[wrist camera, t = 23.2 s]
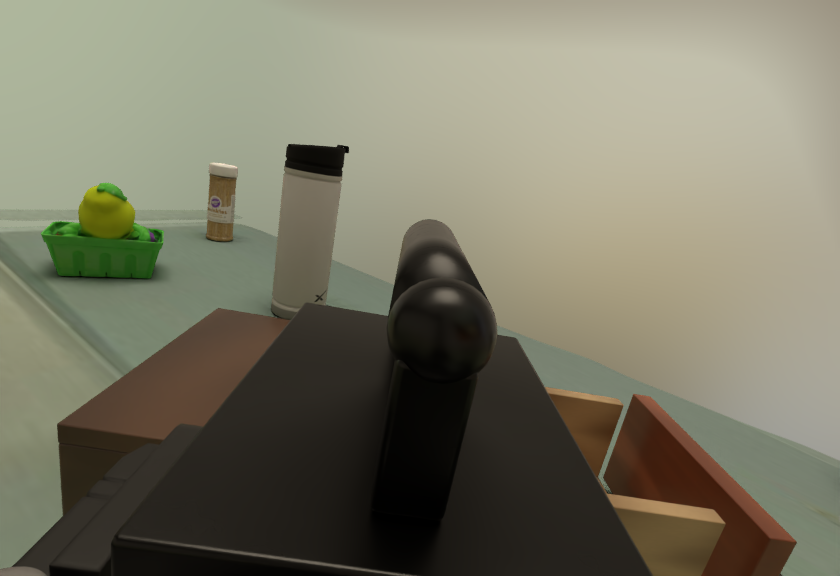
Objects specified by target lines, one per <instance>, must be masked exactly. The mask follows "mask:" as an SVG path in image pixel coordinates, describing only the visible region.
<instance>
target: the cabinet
mask: <svg viewBox="0 0 840 576" xmlns="http://www.w3.org/2000/svg"><path fill="white" fill-rule="evenodd" d="M289 322H290V320H286V319H281V318H275V317H269V316H263V315H257V314H251V313H245V312H239V311H233V310H227V309H221V308H218V309H216V310H215V311H213V312H212V313H211V314H209V315H208V316H206V317H205V318H204V319H202V320H201V321H199V322H198V323H197V324H195V325H194V326H193V327H191V328H190V329H188V330H187V331H186V332H184V333H183V334H181V335H180V336H179V337H177V338H176V339H175V340H173V341H172V342H170V343H169V344H168V345H166V346H165V347H163V348H162V349H161V350H159V351H158V352H156V353H155V354H154V355H152V356H151V357H150V358H148V359H147V360H145V361H144V362H143V363H141V364H140V365H138V366H137V367H136V368H134V369H133V370H131V371H130V372H129V373H127V374H126V375H125V376H123V377H122V378H120V379H119V380H118V381H116V382H115V383H113V384H112V385H111V386H109V387H108V388H107V389H105V390H104V391H102V392H101V393H100V394H98V395H97V396H95V397H94V398H93V399H91V400H90V401H88V402H87V403H86V404H84V405H83V406H82V407H80V408H79V409H77V410H76V411H75V412H73V413H72V414H70V415H69V416H68V417H66V418H65V419H64V420H62V421H61V422H59V423H58V424H57V430H58V442H59V457H60V474H61V491H62V508H63V516H64V515H65V514H66V513H67V512H68V511H69V510H70V509H71V508H72V507H73V506H74V505H75V504H76V503H77V502H78V501H79V500H80V499H81V498H82V497H85V496H86V495H87V492H88V491H89V490H90V489H91V488H92V487H93V486H94V485H95V484H96V483H97V482H98V481H99V480H102V479H103V476H104V475H105V474H106V473H107V472H108V471H109V470H110V469H111V468H112V467H113V466H114V465H115V464H116V463H117V462H118V461H119V460H120V459H121V458H122V457H124V456H126V455H127V454H129V453H131V452H133V451H134V450H136V449H138V448H140V447H142V446H143V445H145V444H147V443H151V444H158V445H160V443H161V442H162V441H163V440H164V439H165V438H166V437H167V436H168V435H169V434H170V433H171V431H172V430H173V429H174V428H175V427H176V426H177V425H179V424H181V423H183V424H190V425H196V426H203V427H204V425H205V424H206V423H207V422H208V420H209V419H210V418H211V417H212V416H213V414H214V413H215V412H216V411H217V409H218V408H219V407H220V406H221V405H222V403H223V402H224V401H225V400H226V398H227V397H228V396H229V395H230V394H231V392H232V391H233V390H234V389H235V387H236V386H237V385H238V384H239V383H240V381H241V380H242V379H243V378H244V376H245V375H246V374H247V373H248V372H249V370H250V369H251V368H252V367H253V366H254V364H255V363H256V362H257V361H258V359H259V358H260V357H261V356H262V355H263V353H264V352H265V351H266V350H267V348H268V347H269V346H270V345H271V344H272V342H273V341H274V340H275V339H276V337H277V336H278V335H279V334H280V333H281V331H282V330H283V329H284V328H285V326H286V325H287V324H288V323H289Z"/></svg>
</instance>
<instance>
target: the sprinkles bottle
mask: <svg viewBox="0 0 840 576" xmlns="http://www.w3.org/2000/svg"><path fill="white" fill-rule="evenodd" d="M209 173H210V185H209V186H210V187H209V202H208V212H207V219H208V222H207V234H206V237H207V238H208V239H211V240H215V241H230V240H232V239H233V236H232V234H233V222H234V208H235V188H236V178H237V174H238V168H237V167H236V166H232V165H228V164H223V163H210V164H209Z"/></svg>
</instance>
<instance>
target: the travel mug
mask: <svg viewBox="0 0 840 576" xmlns="http://www.w3.org/2000/svg"><path fill="white" fill-rule="evenodd" d="M343 147H344V148H343ZM345 153H349V147H348V146H343V145H338V146H337V147H328V146H315V145H297V144H289V145H288V147H287V151H286V157H287V160H286V161H285V166H284V171H285V173H284V177H283V187H282V197H281V208H280V219H279V229H278V230H279V231H278V240H277V251H276V261H275V272H274V283H273V293H272V296H273V297H272V304H271V310H272V312H273V313H274V314H276V315H277V316H279V317H281V318H284V319H288V320H291V319H292V318H293V317H294V315H295V314H296V313H297V312H298V311H299V309H300V308H301V307H302V306H303V304H304V303H307V302H308V303H314V304H319V305H325V306H326V298H327V290H328V283H329V275H330V267H331V260H332V252H333V244H334V237H335V229H336V221H337V213H338V206H339V198H340V191H341V183H340V181H342V167H343V164H344V154H345Z"/></svg>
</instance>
